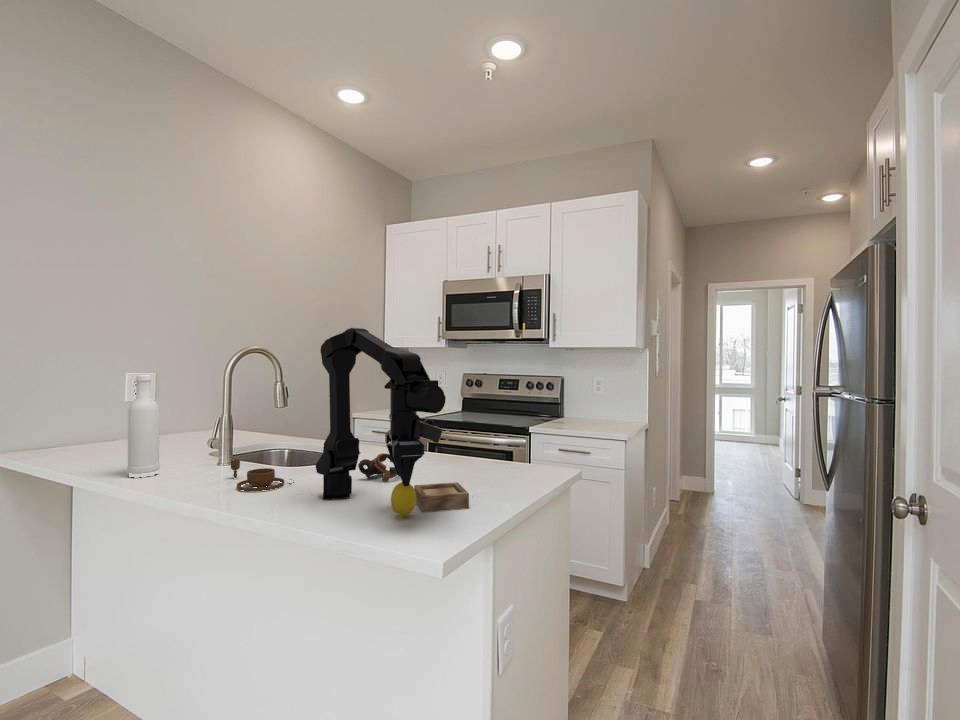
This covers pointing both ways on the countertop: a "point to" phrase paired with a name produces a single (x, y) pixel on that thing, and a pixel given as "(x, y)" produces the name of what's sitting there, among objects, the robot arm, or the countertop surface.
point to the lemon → (403, 499)
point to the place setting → (257, 478)
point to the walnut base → (441, 497)
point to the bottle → (143, 429)
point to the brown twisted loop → (378, 467)
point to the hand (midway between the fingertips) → (403, 481)
